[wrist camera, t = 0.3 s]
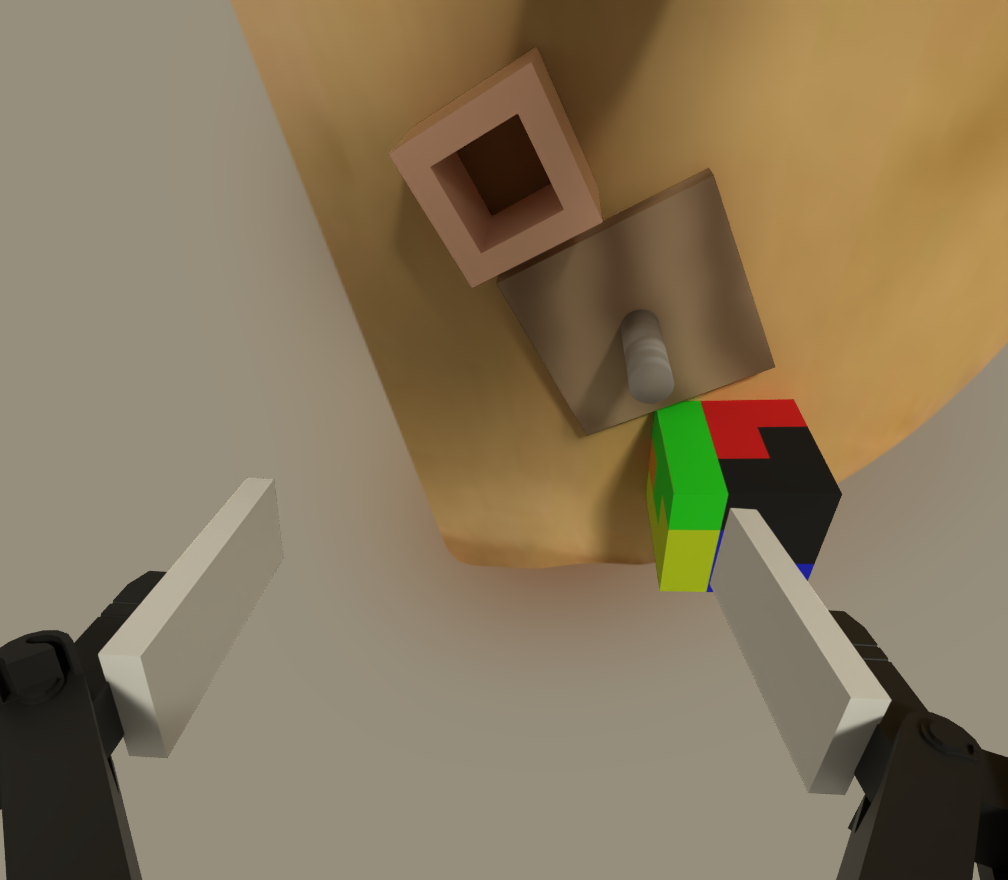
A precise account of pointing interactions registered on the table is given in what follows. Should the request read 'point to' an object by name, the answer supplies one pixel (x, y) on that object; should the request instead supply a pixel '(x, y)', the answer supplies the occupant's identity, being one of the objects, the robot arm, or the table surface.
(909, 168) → the table surface
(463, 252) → the collar
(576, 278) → the square plate with peg
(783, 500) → the puzzle toy
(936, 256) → the table surface
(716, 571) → the robot arm
